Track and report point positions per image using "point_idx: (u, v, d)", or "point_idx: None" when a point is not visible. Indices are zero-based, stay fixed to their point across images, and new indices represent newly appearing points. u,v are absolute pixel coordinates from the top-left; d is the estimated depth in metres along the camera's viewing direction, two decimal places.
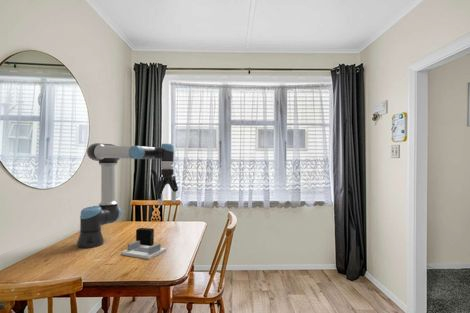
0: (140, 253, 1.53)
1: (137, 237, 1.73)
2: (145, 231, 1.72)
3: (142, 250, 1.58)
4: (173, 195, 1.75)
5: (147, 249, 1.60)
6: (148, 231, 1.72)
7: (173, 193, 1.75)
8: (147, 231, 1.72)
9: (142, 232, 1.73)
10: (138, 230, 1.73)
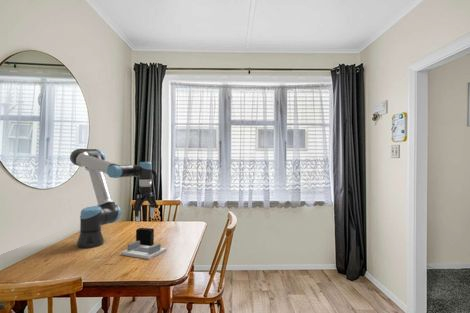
0: (140, 253, 1.53)
1: (137, 237, 1.73)
2: (145, 231, 1.72)
3: (142, 250, 1.58)
4: (152, 211, 1.81)
5: (147, 249, 1.60)
6: (148, 231, 1.72)
7: (152, 209, 1.81)
8: (147, 231, 1.72)
9: (142, 232, 1.73)
10: (138, 230, 1.73)
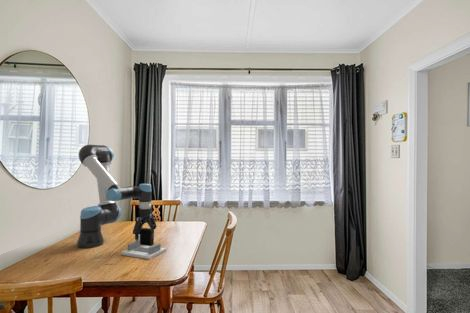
0: (140, 253, 1.53)
1: None
2: (145, 231, 1.72)
3: (142, 250, 1.58)
4: None
5: (147, 249, 1.60)
6: (148, 231, 1.72)
7: None
8: (147, 231, 1.72)
9: (142, 232, 1.73)
10: None
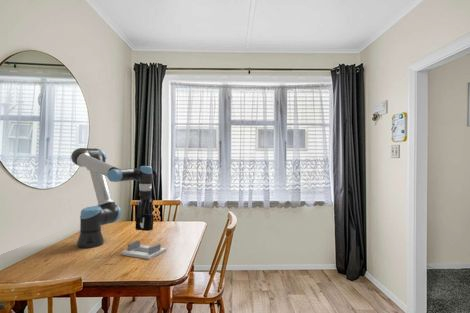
0: (140, 253, 1.53)
1: (137, 222, 1.74)
2: (145, 215, 1.73)
3: (142, 250, 1.58)
4: None
5: (147, 249, 1.60)
6: (148, 216, 1.72)
7: None
8: (147, 216, 1.72)
9: None
10: None
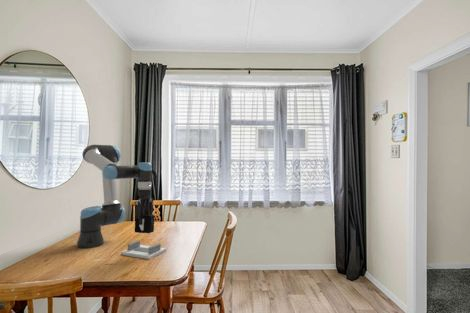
0: (140, 253, 1.53)
1: (136, 223, 1.58)
2: (144, 216, 1.57)
3: (142, 250, 1.58)
4: None
5: (147, 249, 1.60)
6: (148, 217, 1.57)
7: None
8: (147, 217, 1.57)
9: None
10: None
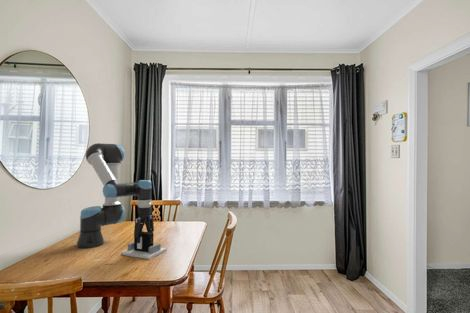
0: (140, 253, 1.53)
1: (135, 241, 1.58)
2: (143, 235, 1.56)
3: None
4: None
5: None
6: (147, 235, 1.56)
7: None
8: (146, 235, 1.56)
9: None
10: None
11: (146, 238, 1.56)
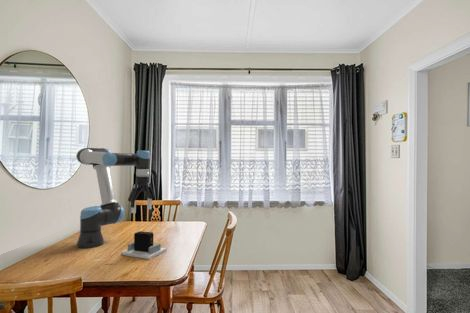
0: (140, 253, 1.53)
1: (135, 242, 1.58)
2: (143, 235, 1.56)
3: None
4: (149, 202, 1.72)
5: None
6: (147, 235, 1.56)
7: (149, 200, 1.72)
8: (146, 235, 1.56)
9: (140, 236, 1.57)
10: (136, 234, 1.57)
11: (146, 238, 1.56)
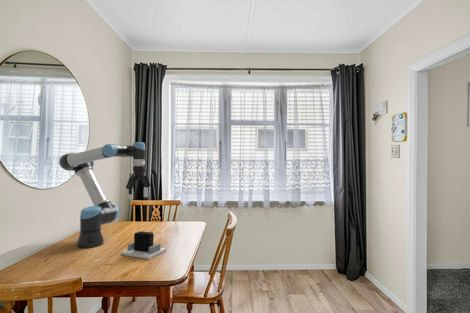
0: (140, 253, 1.53)
1: (135, 242, 1.58)
2: (143, 235, 1.56)
3: None
4: (145, 191, 1.87)
5: None
6: (147, 235, 1.56)
7: (145, 189, 1.87)
8: (146, 235, 1.56)
9: (140, 236, 1.57)
10: (136, 234, 1.57)
11: (146, 238, 1.56)
